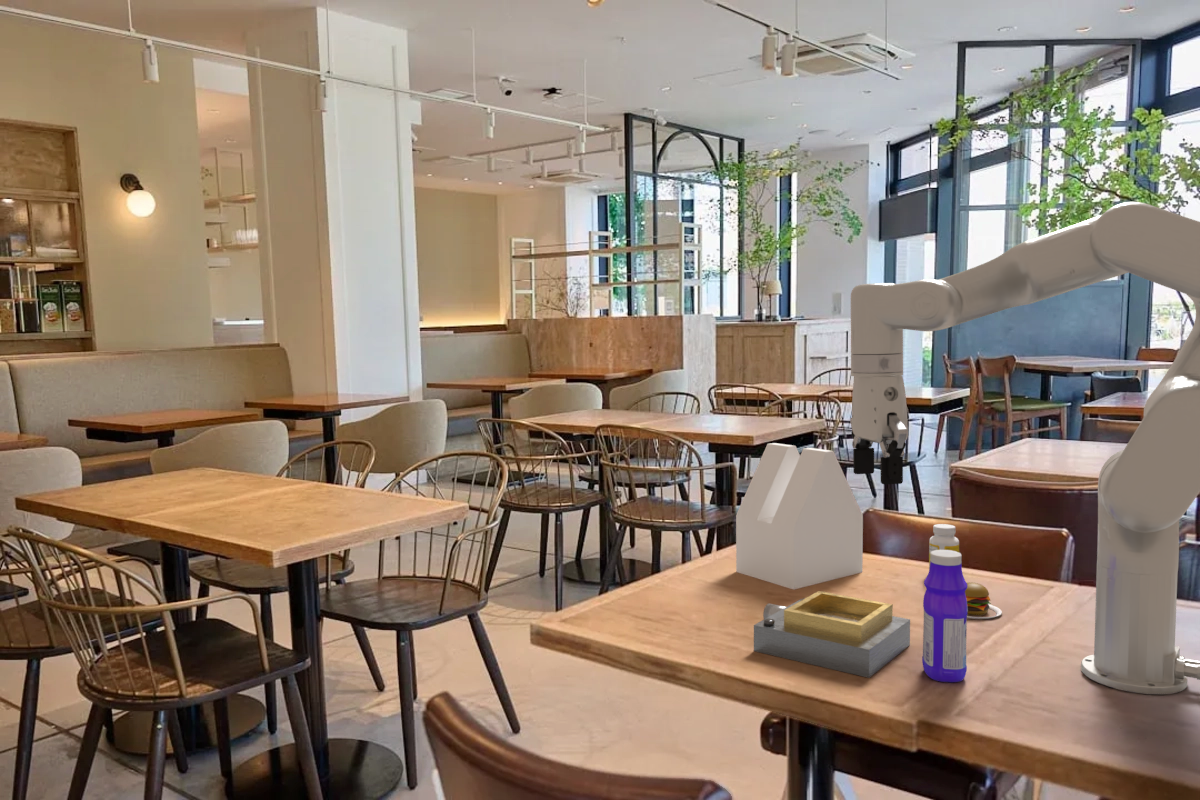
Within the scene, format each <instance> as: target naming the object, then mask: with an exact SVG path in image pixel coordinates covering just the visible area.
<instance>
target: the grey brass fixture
mask: <svg viewBox="0 0 1200 800" xmlns="http://www.w3.org/2000/svg"><path fill="white" fill-rule="evenodd" d="M893 610H894V608H893V604H892V603H888V602H881V601H876V600H871V599H865V598H859V597H855V596H848V595H844V594H843V595H842V594H837V593H831V592H826V591H820V590H818V591H816V592H814V593H813V594H811V595H809V596H807V597H803V598H801V599H799V600H797V601H795V602H793V603H791V604H789V605H788V606H784V605H780V604H779V605H778V604H774V603H767V604H766V605H765V606H764V608H763V613H762V614H763V615H762V616H763V619H762V620H760V621H759V622H757V623H754V625H753V651H754V652H757V653H761V654H765V655H770V656H774V657H778V658H783V659H787V660H791V661H794V662H795V661H796V662H800V663H803V664H808V665H812V666H817V667H820V668H821V667H822V668H825V669H829V670H834V671H839V672H843V673H847V674H851V675H854V676H855V675H856V676H860V677H864V678H871V677H872V676H873V675H874V674H876V673H877V672H878V671H879V670H881V669H882V668H883V667H885V665H887V664H888V663H889V662H891V661H892V660H893V659H895V657H897V656H898V655H899V654H901V653H902V652H903V651H904V650H906V649H907V648H908V647H910V645H911V619H910V618H905V617H900V616H899V617H898V616H895V615H893Z"/></svg>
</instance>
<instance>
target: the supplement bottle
mask: <svg viewBox="0 0 1200 800" xmlns="http://www.w3.org/2000/svg"><path fill="white" fill-rule="evenodd" d="M932 527H933V529H932V530H933V531H932V533H933V534H934V535H932V536H931V537H930V538H929V543H928V545H929V547H928V548H929V549H928V550H929V551H928V560H929V561H928V570H929V569H930V553H931V551H934V550H952V551H956V552H959V553H960V540H959V538H958V537H956V536H955V535H956V526H955V525H953V524H947V523H946V524H945V523H938V524H934V525H933V526H932Z"/></svg>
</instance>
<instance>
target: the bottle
mask: <svg viewBox="0 0 1200 800" xmlns="http://www.w3.org/2000/svg"><path fill="white" fill-rule="evenodd" d="M962 563H963V562H962V553H961V552H960V551H959V552H956V551H952V550H934V551H931V553H930V569H929V568H928V574H927V576H926V577H925V579H924V581H923V585H924V587H925V591H924V594H923V601H922V602H923V605H922V606H923V607H922V608H923V628H922V629H923V631H922V633H923V634H922V636H923V637H922V656H921V661H922V662H921V663H922V667H923V671H924V673H925V674H926V675H927V677H929V678H930V679H932V680H933V681H937V682H941V683H958V682H959V683H960V682H963V680H964V679H965V678H966V674H967V670H968V666H967V630H968V629H967V628H968V627H967V622H968V621H967V619H968V618H967V616H968V614H967V612H968V608H967V599H966V595H965V590H966V589H967V583H968V582H966V579H965V577H964V575H963V569H962V568H963V566H962Z"/></svg>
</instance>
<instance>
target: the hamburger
mask: <svg viewBox="0 0 1200 800" xmlns="http://www.w3.org/2000/svg"><path fill="white" fill-rule="evenodd" d="M966 583H967V589H966V590H965V595H966V599H967V608H968V612H967V619H973V620H974V619H975V620H988V619H989V620H990V619H994V618H996V617H1000V616H1002V614H1003V611H1002V609H1000V608H999V607H998V606H995V605H992V603H991V597H990V596H989V595H990V592H989V590H988V588H986V586H985V585H983V584H981V583H978V582H973V581H970V582H969V581H968V582H966ZM989 610H991V611H993V612H994V613H996V615H994V616H983V615H986V614H987V613H988V611H989ZM982 616H983V617H982Z"/></svg>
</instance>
